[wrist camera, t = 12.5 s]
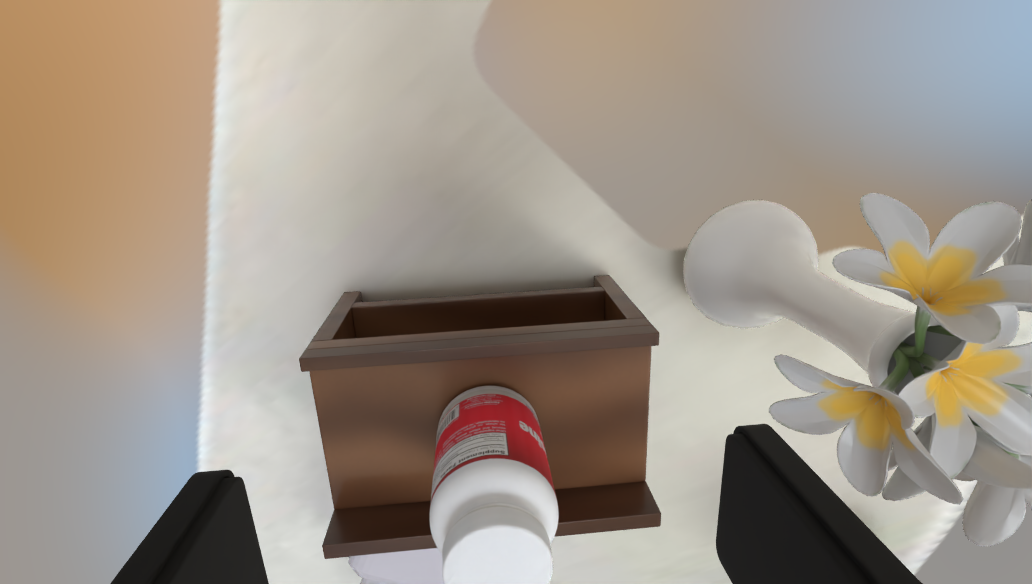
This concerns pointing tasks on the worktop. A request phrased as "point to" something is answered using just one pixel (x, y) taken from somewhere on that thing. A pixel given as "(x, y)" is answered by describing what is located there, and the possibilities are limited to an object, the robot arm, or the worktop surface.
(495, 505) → the pill bottle
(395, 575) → the charger
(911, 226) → the flower vase
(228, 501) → the robot arm
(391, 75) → the worktop surface
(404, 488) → the box
